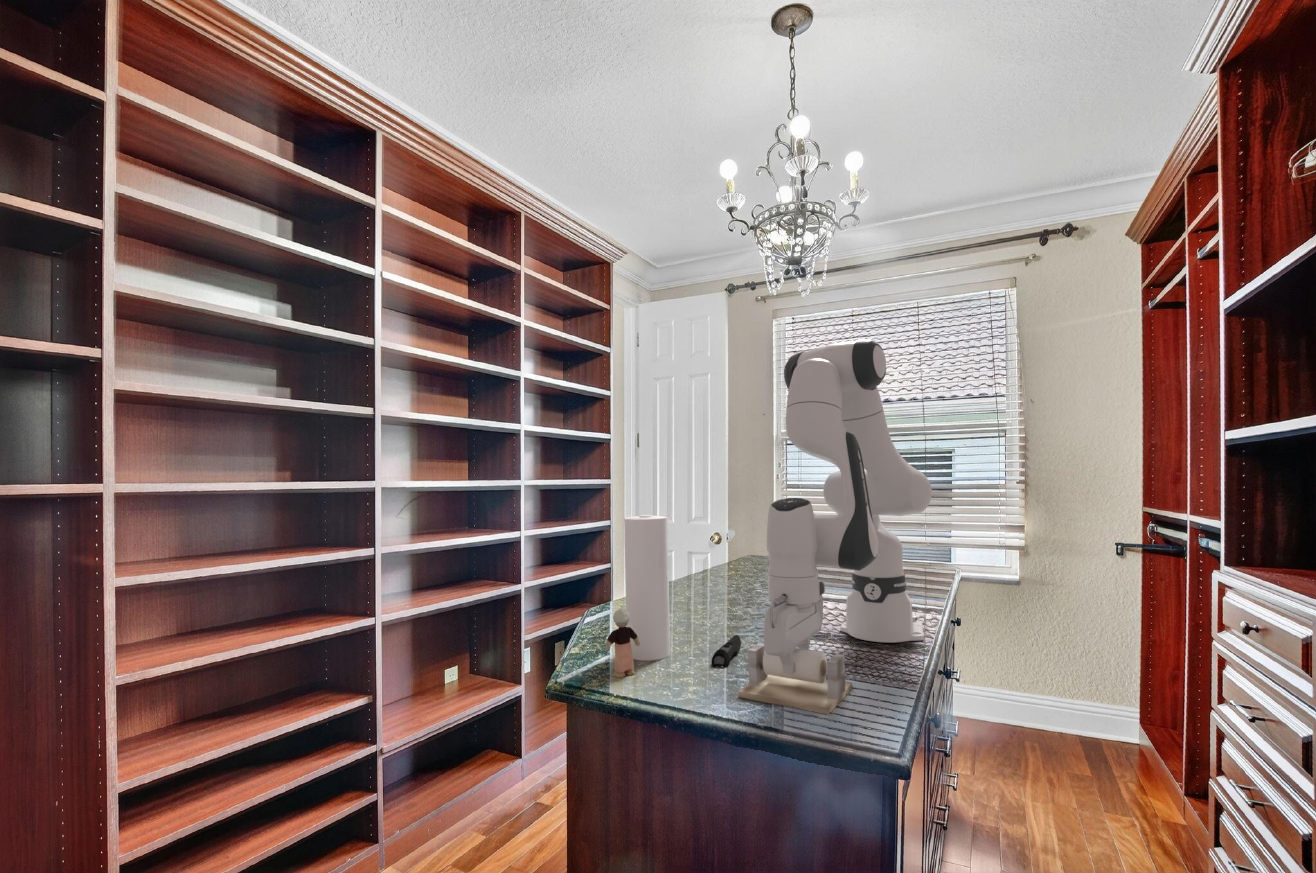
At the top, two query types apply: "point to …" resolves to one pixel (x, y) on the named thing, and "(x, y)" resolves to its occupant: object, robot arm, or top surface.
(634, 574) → the cylinder container
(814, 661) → the paper roll
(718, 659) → the electric trimmer
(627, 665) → the grandmother figurine
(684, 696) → the top surface
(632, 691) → the top surface
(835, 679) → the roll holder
